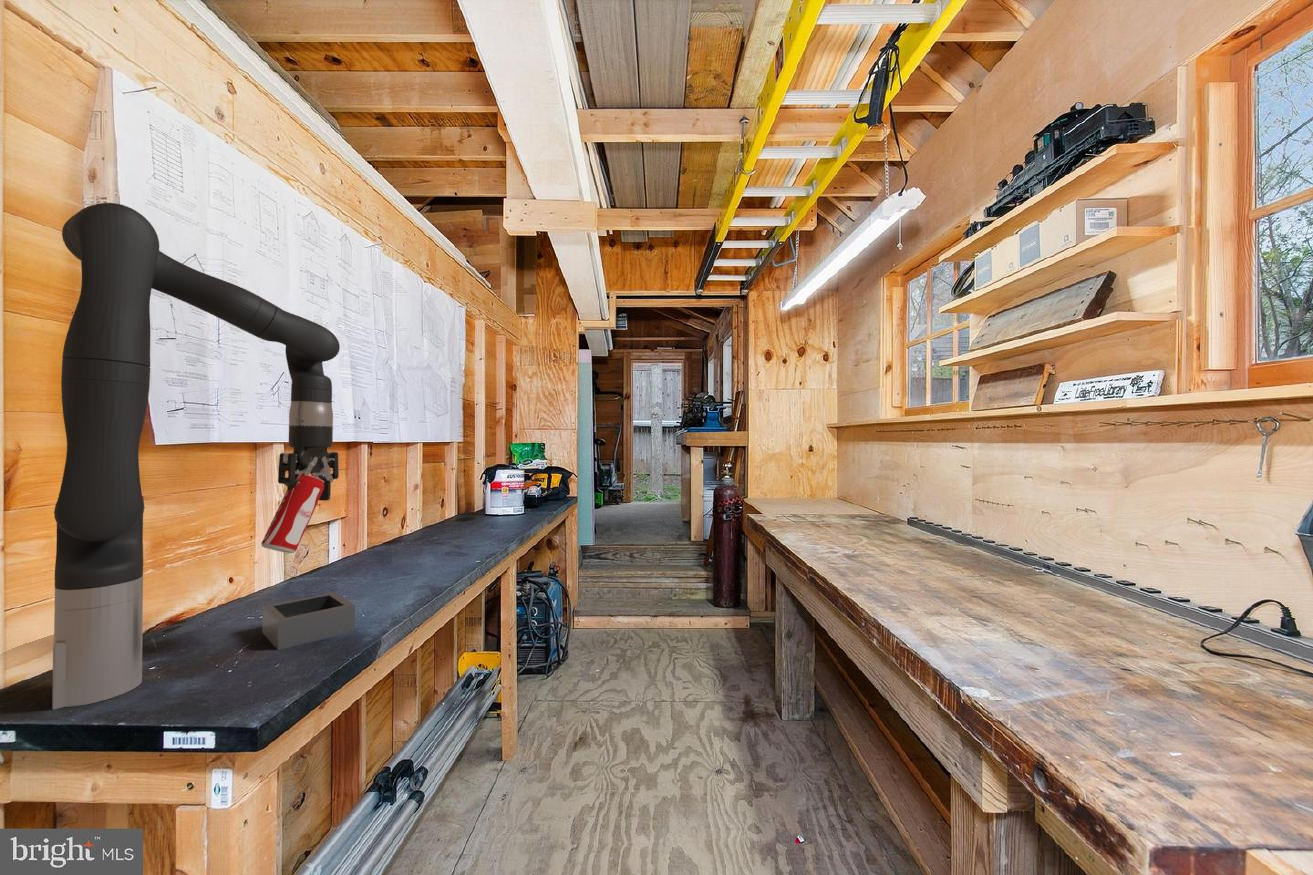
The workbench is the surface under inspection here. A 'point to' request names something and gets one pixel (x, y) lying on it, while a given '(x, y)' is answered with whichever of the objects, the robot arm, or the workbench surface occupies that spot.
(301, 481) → the beverage can
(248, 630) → the workbench surface
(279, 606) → the socket block
